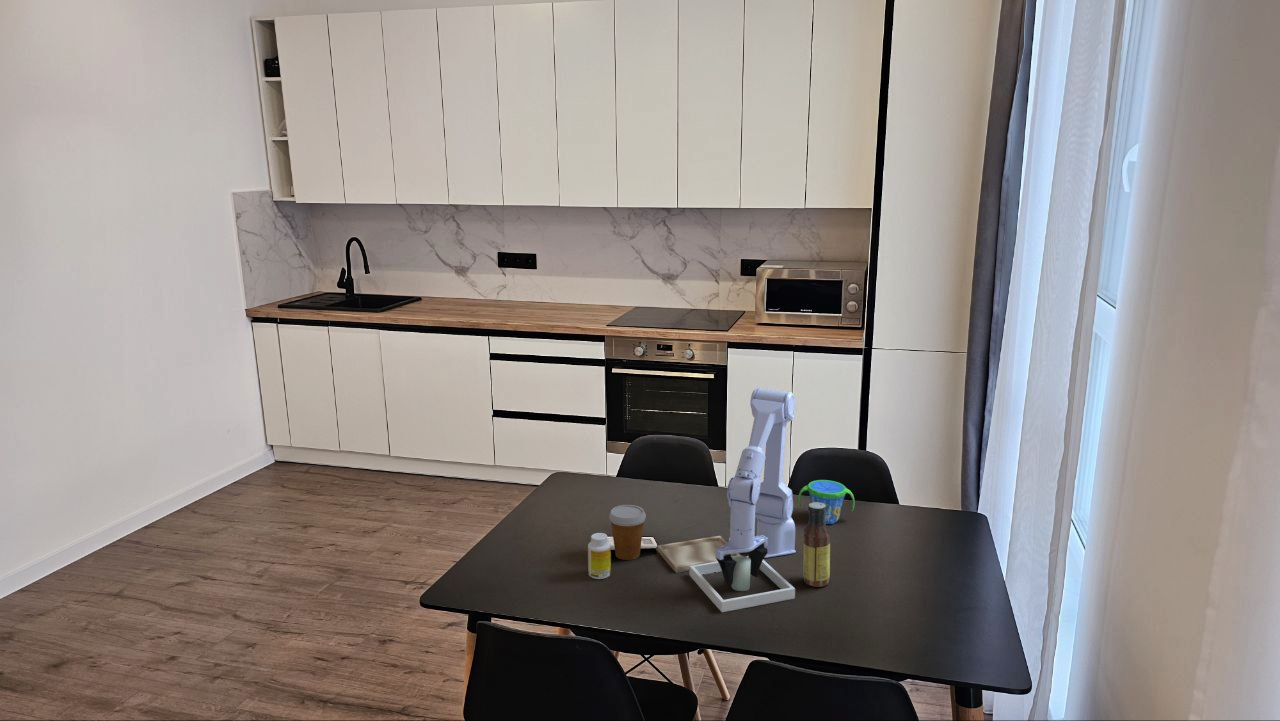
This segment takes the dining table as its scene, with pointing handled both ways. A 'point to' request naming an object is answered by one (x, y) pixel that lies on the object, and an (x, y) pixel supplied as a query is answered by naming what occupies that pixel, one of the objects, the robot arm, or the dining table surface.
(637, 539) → the disposable coffee cup
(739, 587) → the sage cylinder
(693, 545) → the birch tray
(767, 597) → the white hollow square frame
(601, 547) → the supplement bottle
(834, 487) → the snack cup
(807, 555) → the sauce bottle
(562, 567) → the dining table surface
